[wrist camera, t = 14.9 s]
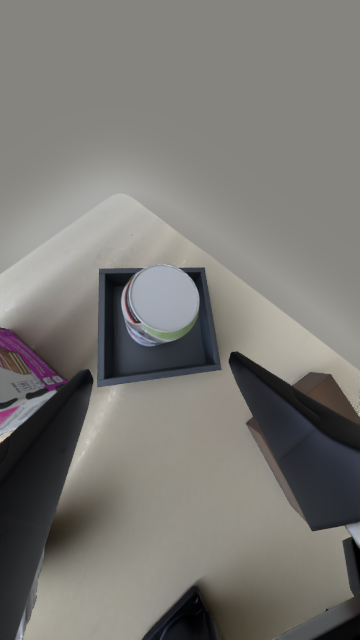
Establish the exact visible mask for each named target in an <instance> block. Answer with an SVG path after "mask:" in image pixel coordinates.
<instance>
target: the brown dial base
mask: <svg viewBox="0 0 360 640" xmlns="http://www.w3.org/2000/svg"><path fill="white" fill-rule="evenodd" d="M293 387H294V388H296V389H298V390H299V391H301V392H302V393H304V394H306V395H307V396H309V397H311V398H312V399H314V400H316V401H318V402H319V403H321V404H323V405H325V406H326V407H328V408H330V409H332V410H334V411H335V412H337V413H339V414H341V415H342V416H344V417H346V418H348V419H350V420H352V421H353V422H355V423H357V424H360V417H359V416H358V414H357V413H356V411H355V410H354V408H353V407H352V405H351V404H350V402H349V401H348V399H347V398H346V396H345V395H344V393H343V392H342V390H341V389H340V387H339V386H338V384H337V383H336V381H335V380H334V378H333V377H332V375H331V374H322V373H313V372H310V373H309V374H307V375H306V376H305V377H304V378H302V379H301V380H300V381H299V382H297V383H296V384H295V385H293ZM246 424H247V426H248V428H249V430H250V431H251V433H252V435H253V437H254V439H255V441H256V442H257V444H258V446H259V448H260V450H261V451H262V453H263V455H264V457H265V459H266V461H267V462H268V464H269V466H270V468H271V470H272V471H273V473H274V475H275V477H276V479H277V481H278V482H279V484H280V486H281V488H282V490H283V492H284V493H285V495H286V497H287V499H288V501H289V502H290V504H291V506H292V507H293V508H294V509H295V510H296V511H297V512H298V513H299V515H300V516H301V517H302V518H303V519H304V520H305V521H306V519H305V517H304V515H303V513H302V511H301V509H300V507H299V505H298V503H297V501H296V499H295V498H294V496H293V494H292V492H291V490H290V488H289V486H288V484H287V482H286V480H285V478H284V476H283V474H282V472H281V470H280V468H279V466H278V463H277V462H276V460H275V458H274V456H273V454H272V452H271V450H270V448H269V446H268V444H267V442H266V440H265V438H264V436H263V434H262V432H261V430H260V428H259V426H258V425H257V423H256V421H255V419H254V417H253V418H252V419H251V420H249V421H248V422H247V423H246ZM306 522H307V521H306ZM307 524H308V523H307Z"/></svg>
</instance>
